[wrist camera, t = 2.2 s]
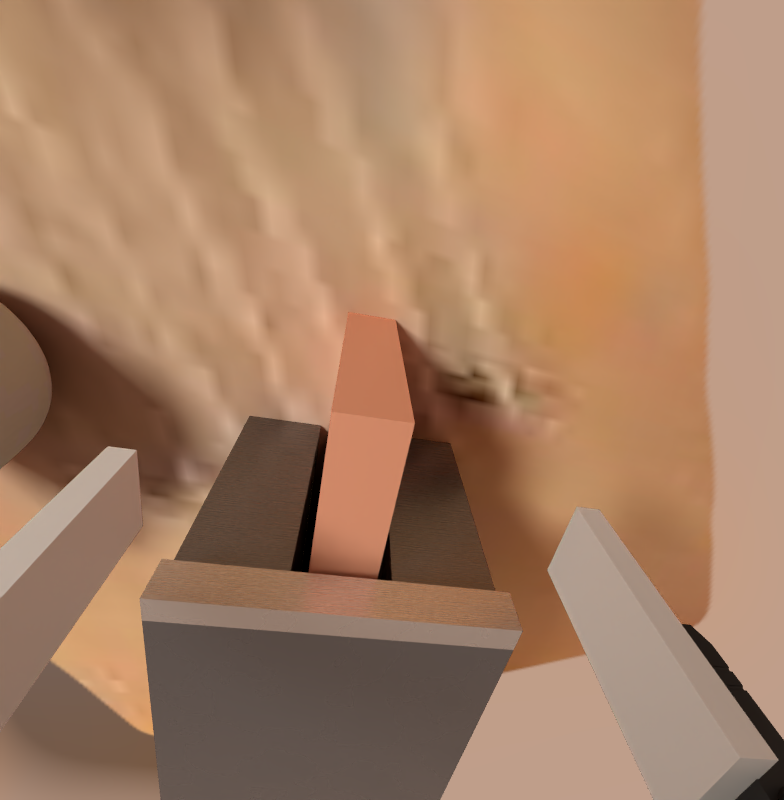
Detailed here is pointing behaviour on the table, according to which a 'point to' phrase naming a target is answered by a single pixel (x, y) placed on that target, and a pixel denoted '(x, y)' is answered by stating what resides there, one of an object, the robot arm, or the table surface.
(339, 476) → the salmon orange rectangular slab
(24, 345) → the teacup
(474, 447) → the table surface
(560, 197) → the table surface
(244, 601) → the block
